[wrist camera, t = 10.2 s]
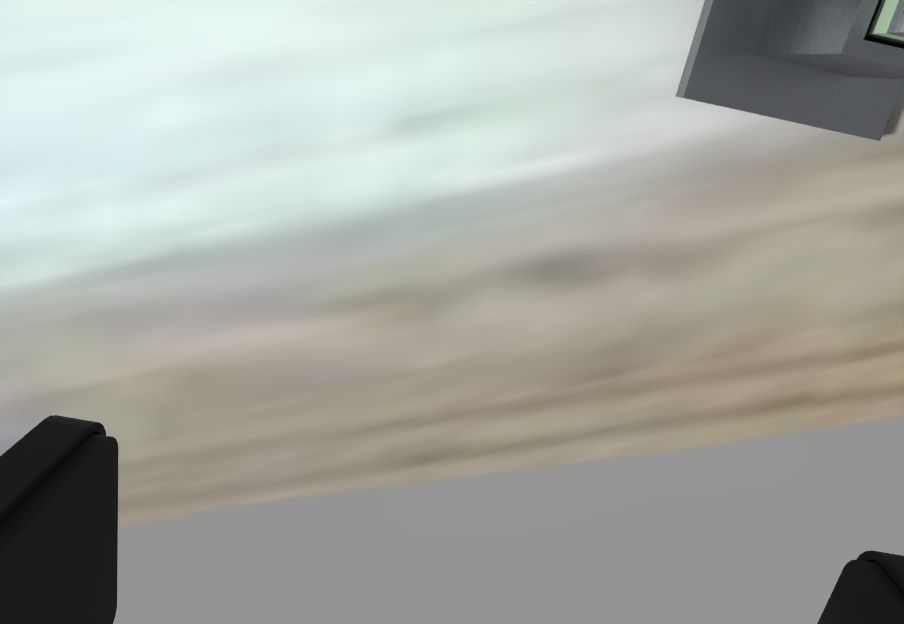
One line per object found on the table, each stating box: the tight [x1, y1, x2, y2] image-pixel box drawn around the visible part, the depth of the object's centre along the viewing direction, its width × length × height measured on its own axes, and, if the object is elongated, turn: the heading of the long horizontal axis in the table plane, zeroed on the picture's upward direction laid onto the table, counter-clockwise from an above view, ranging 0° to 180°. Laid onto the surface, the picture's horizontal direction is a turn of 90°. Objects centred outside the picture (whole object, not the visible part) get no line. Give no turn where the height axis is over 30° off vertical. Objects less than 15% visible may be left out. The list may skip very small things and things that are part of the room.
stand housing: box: [676, 0, 904, 141], centre depth 34 cm, size 12×12×12 cm
